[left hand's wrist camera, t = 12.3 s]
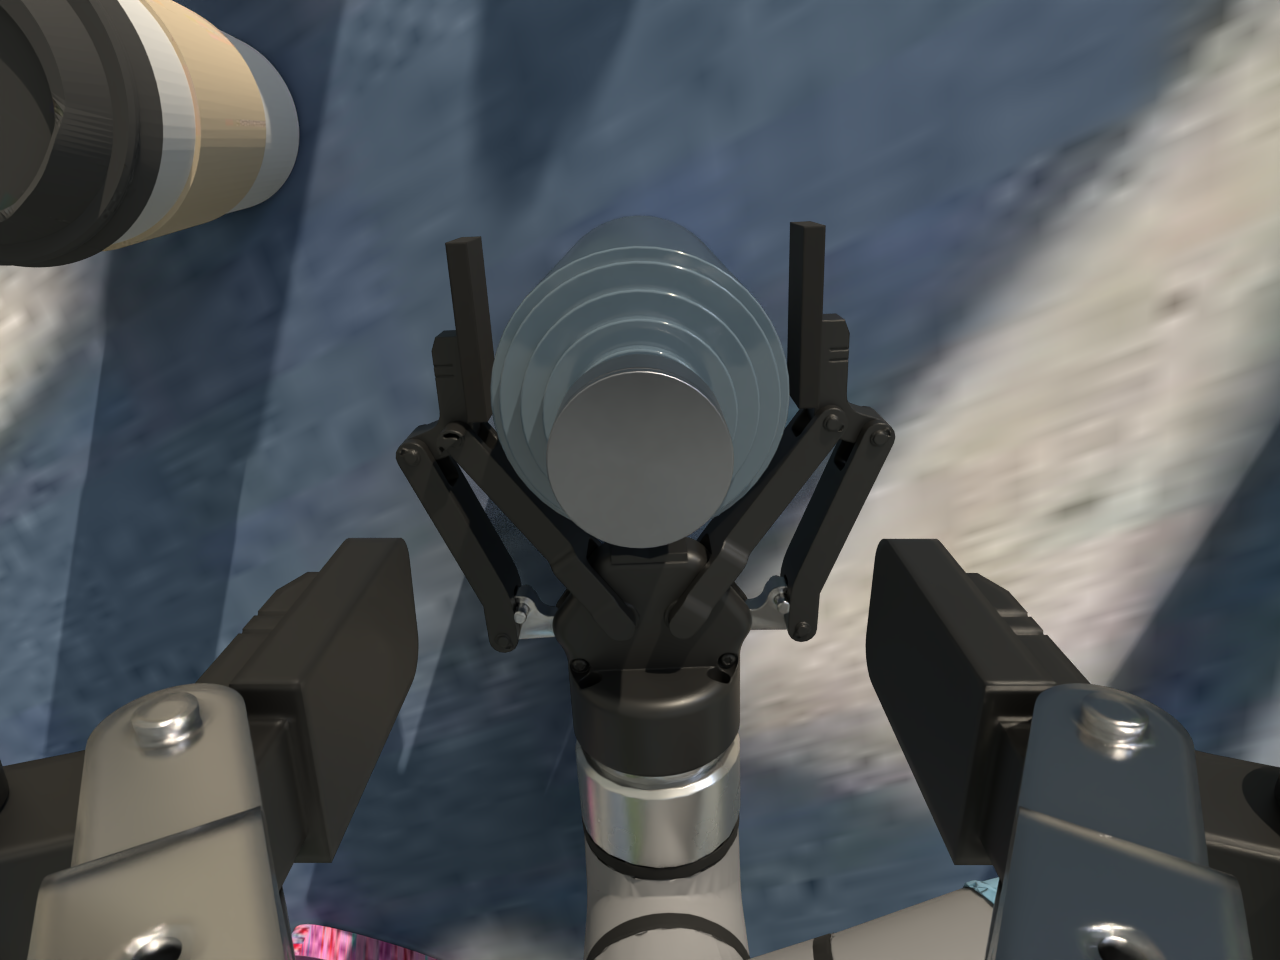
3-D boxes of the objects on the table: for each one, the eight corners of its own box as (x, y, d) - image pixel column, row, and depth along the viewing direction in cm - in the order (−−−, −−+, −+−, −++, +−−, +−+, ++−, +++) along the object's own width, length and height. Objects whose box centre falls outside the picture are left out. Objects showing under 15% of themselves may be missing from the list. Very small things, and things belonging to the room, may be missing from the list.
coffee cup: (68, 139, 34) (-334, 114, 20) (171, -55, 32) (-204, -239, 18) (257, 280, 36) (12, 347, 22) (368, 108, 34) (173, 59, 20)
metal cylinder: (559, 519, 19) (552, 551, 18) (548, 355, 18) (539, 374, 16) (725, 515, 19) (733, 546, 18) (726, 350, 18) (734, 368, 16)
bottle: (558, 395, 38) (473, 625, 19) (546, 218, 35) (430, 271, 16) (727, 390, 38) (818, 616, 19) (728, 212, 35) (837, 258, 16)
